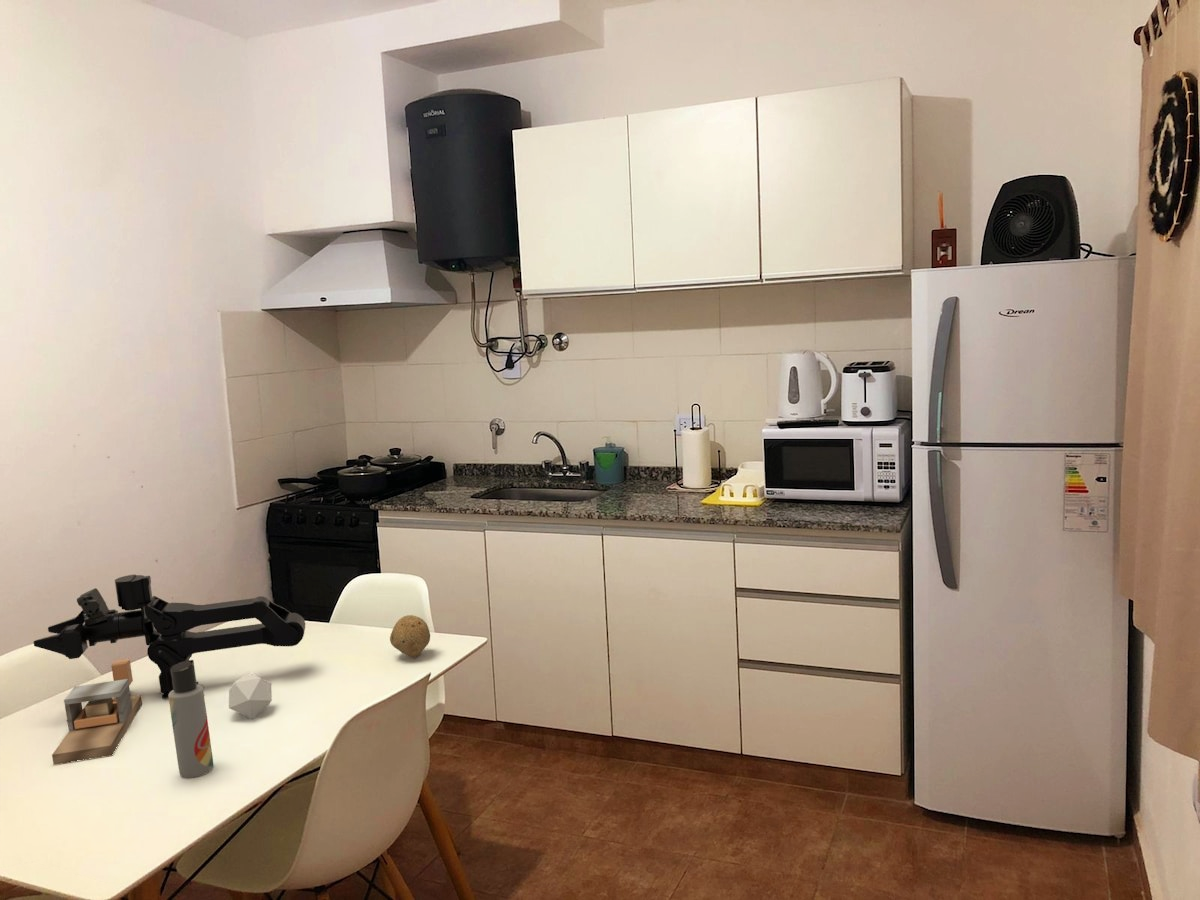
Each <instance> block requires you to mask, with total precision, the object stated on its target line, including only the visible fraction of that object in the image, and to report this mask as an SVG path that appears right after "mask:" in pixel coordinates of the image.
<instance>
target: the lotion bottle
mask: <svg viewBox="0 0 1200 900" xmlns="http://www.w3.org/2000/svg"><path fill="white" fill-rule="evenodd" d="M171 677H172V684H173V690H172V691H171V692H170V693H169V695H168V697H169V698H168V703H169V712H170V719H171V723H172V732H173V739H174V745H175V746H174V747H175V754H176V759H177V766H178V767H177V768H178V772H179V775H180V777H182V778H185V779H192V778H198V777H201V776H205V775H206V774H208V773H210V772H211V771H212V770H213V768H214V758H213V757H214V756H213V750H212V744H211V736H210V735H211V734H210V729H209V723H208V721H209V720H208V714H207V707H206V699H205V694H204V693H205V692H204V687H203V686H202V685H199V684H198V685H197V683H196V682H197V676H196V670H195V663H194V664H192V663H191V662H190V661H184V662H180V663H178V664H176V665H173V666H172V667H171Z"/></svg>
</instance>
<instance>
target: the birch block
mask: <svg viewBox="0 0 1200 900" xmlns="http://www.w3.org/2000/svg"><path fill="white" fill-rule="evenodd" d="M84 707H85V710H86V717H87V718H92V717H99V716H105V715H112V714H113V713H114V705H113V698H107V699H100V700H93V701H87V702H86V704H85V705H84Z"/></svg>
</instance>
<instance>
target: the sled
mask: <svg viewBox="0 0 1200 900" xmlns="http://www.w3.org/2000/svg"><path fill="white" fill-rule="evenodd" d="M131 666H132V665H131V659H130V658H128V659H119V660H114V662H112V665H111V672H112V673H111V674H112V679H113V680H112V681H117V680H124V679H128V681H129V687H130V686H131V684H132V683H133V681H134V678H133V671H132V667H131ZM113 705H114V713H113V714H112V715H105V716H99V717H92V718H87V717H86V710H85V706H84V707H82V709H83V710H82V711H81V713H80V714H79V715H78V717H77V718H76V719H75V721H74V726H75V729H78V728H85V727H91V726H98V725H104V724H110V723H117V722H118V720H119V714H118V707H117V701H116V697H113Z"/></svg>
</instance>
